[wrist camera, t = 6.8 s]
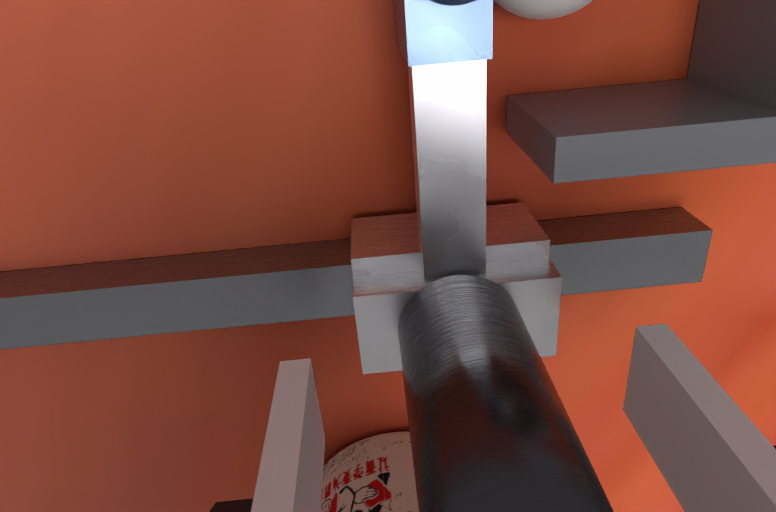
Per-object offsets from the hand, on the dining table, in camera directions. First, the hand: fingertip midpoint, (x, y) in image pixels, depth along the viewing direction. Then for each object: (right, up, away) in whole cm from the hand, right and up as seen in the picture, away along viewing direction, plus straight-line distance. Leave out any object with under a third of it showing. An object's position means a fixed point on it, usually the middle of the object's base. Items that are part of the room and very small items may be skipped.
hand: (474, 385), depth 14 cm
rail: (-5, +3, +6) cm, 9 cm away
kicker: (-1, +8, +4) cm, 9 cm away
